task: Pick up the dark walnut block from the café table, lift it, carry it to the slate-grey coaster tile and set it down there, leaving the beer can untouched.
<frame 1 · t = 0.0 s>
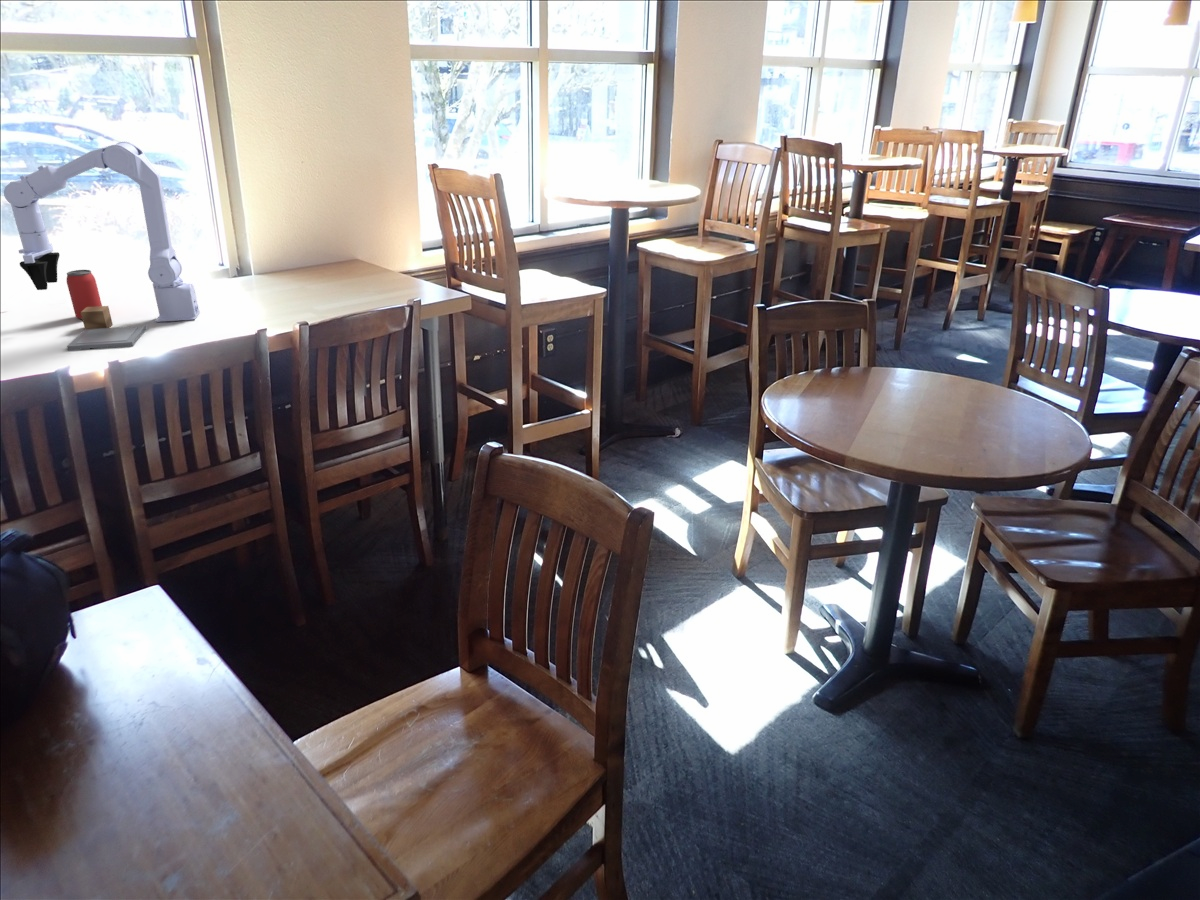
hand: (47, 285, 212), 10 cm above the table, fingers open, 7 cm apart
beer can: (90, 317, 223), on the table
coaster: (108, 339, 205), on the table
walnut block: (99, 328, 214), on the table
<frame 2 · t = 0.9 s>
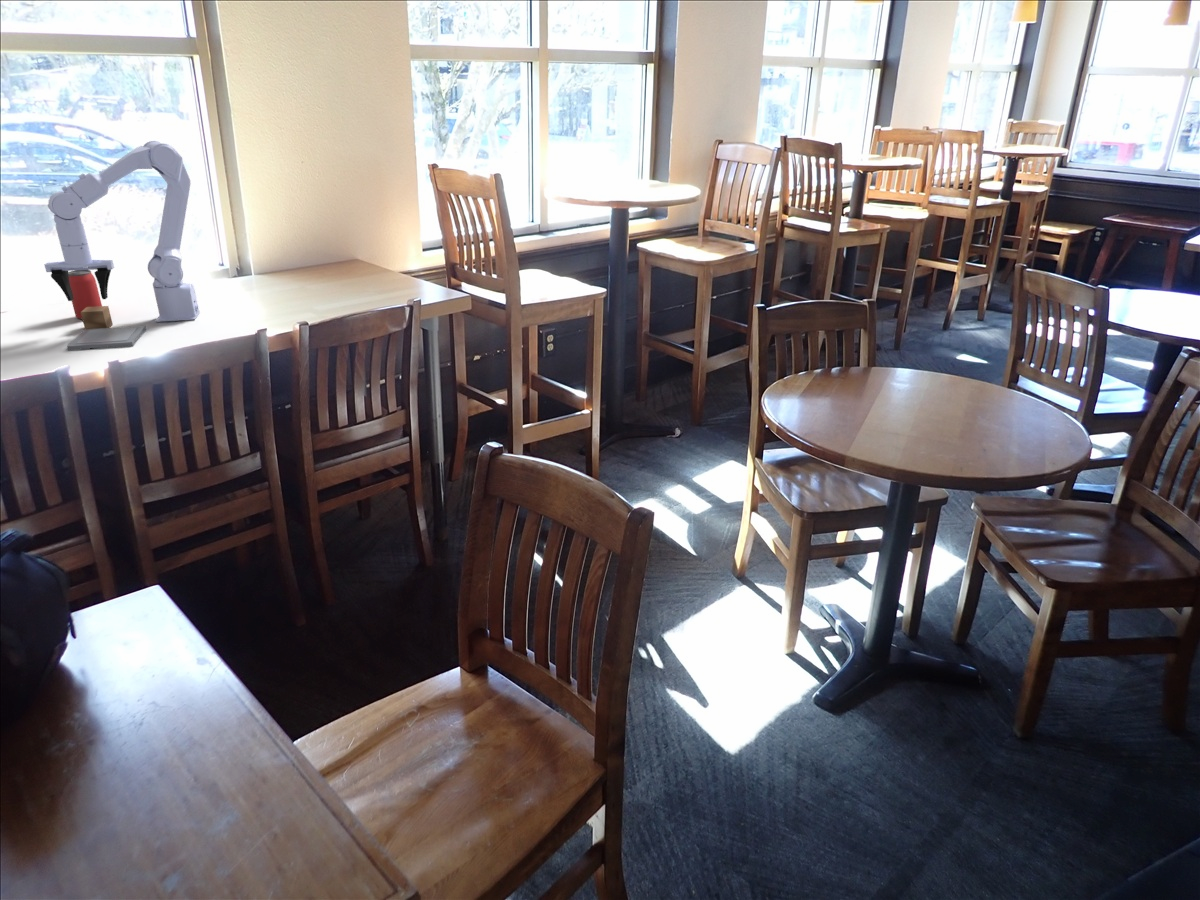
hand: (88, 299, 208), 8 cm above the table, fingers open, 7 cm apart
nothing on the table moved.
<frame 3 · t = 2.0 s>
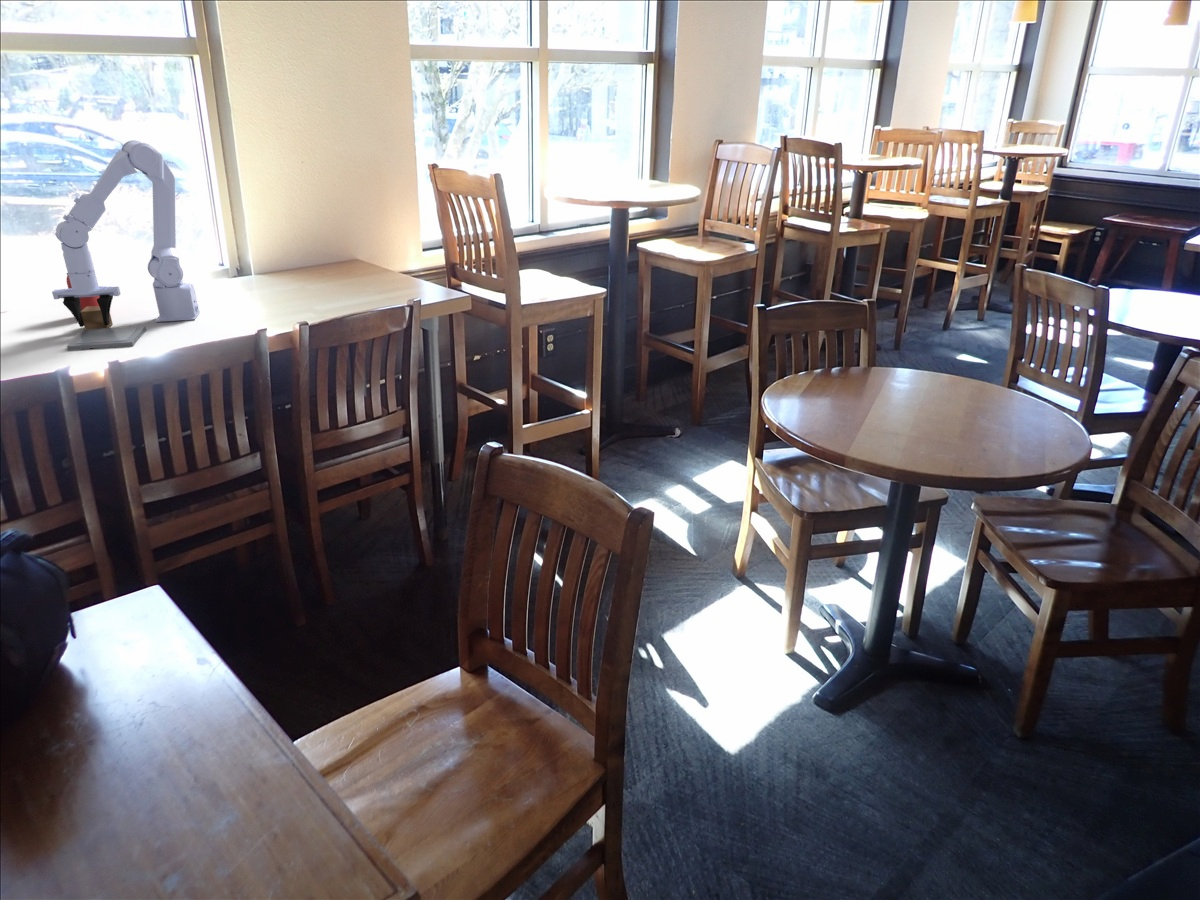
hand: (95, 325, 211), 1 cm above the table, fingers closed on walnut block, 5 cm apart
walnut block: (99, 327, 214), on the table, touching gripper
everything else where it was.
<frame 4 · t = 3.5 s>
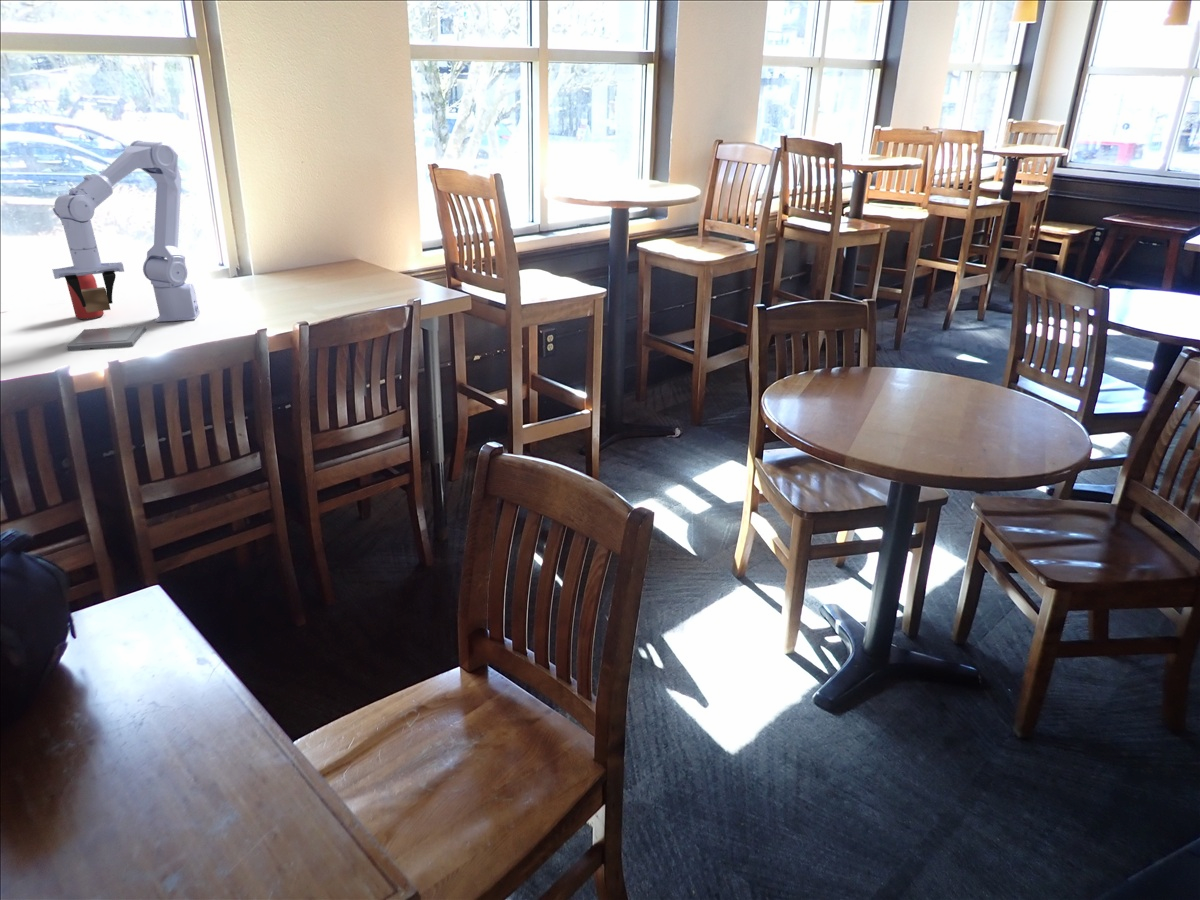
hand: (97, 304, 202), 8 cm above the table, fingers closed on walnut block, 5 cm apart
walnut block: (98, 309, 205), point 6 cm above the table, tilted 6°, touching gripper
everything else where it was.
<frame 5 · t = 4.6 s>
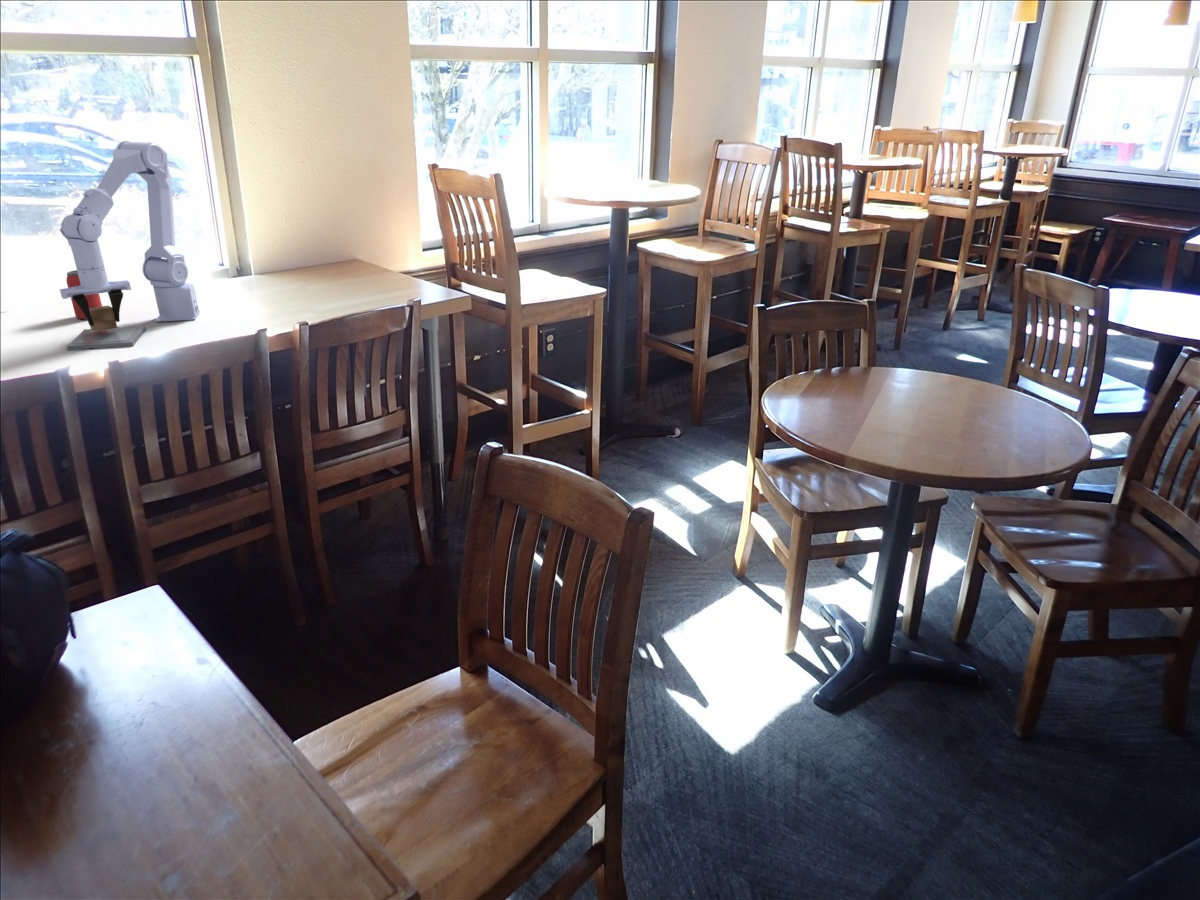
hand: (104, 322, 203), 4 cm above the table, fingers closed on walnut block, 5 cm apart
walnut block: (104, 328, 205), point 2 cm above the table, tilted 6°, touching gripper
everything else where it was.
when the fingers open (4 cm above the table, at t = 5.3 s): walnut block drops 1 cm, resting on coaster.
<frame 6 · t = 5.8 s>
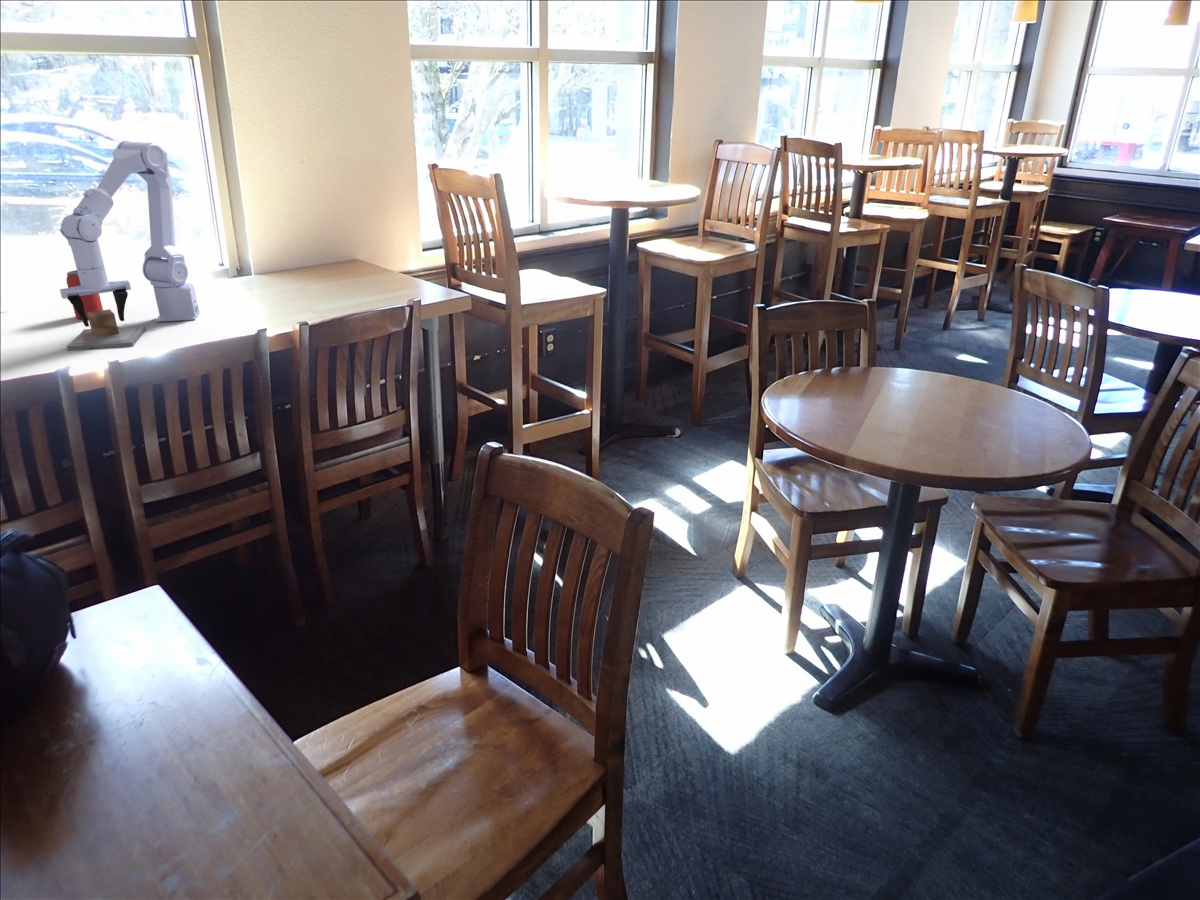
hand: (104, 322, 203), 4 cm above the table, fingers open, 7 cm apart
walnut block: (105, 333, 206), point 1 cm above the table, touching coaster
everything else where it was.
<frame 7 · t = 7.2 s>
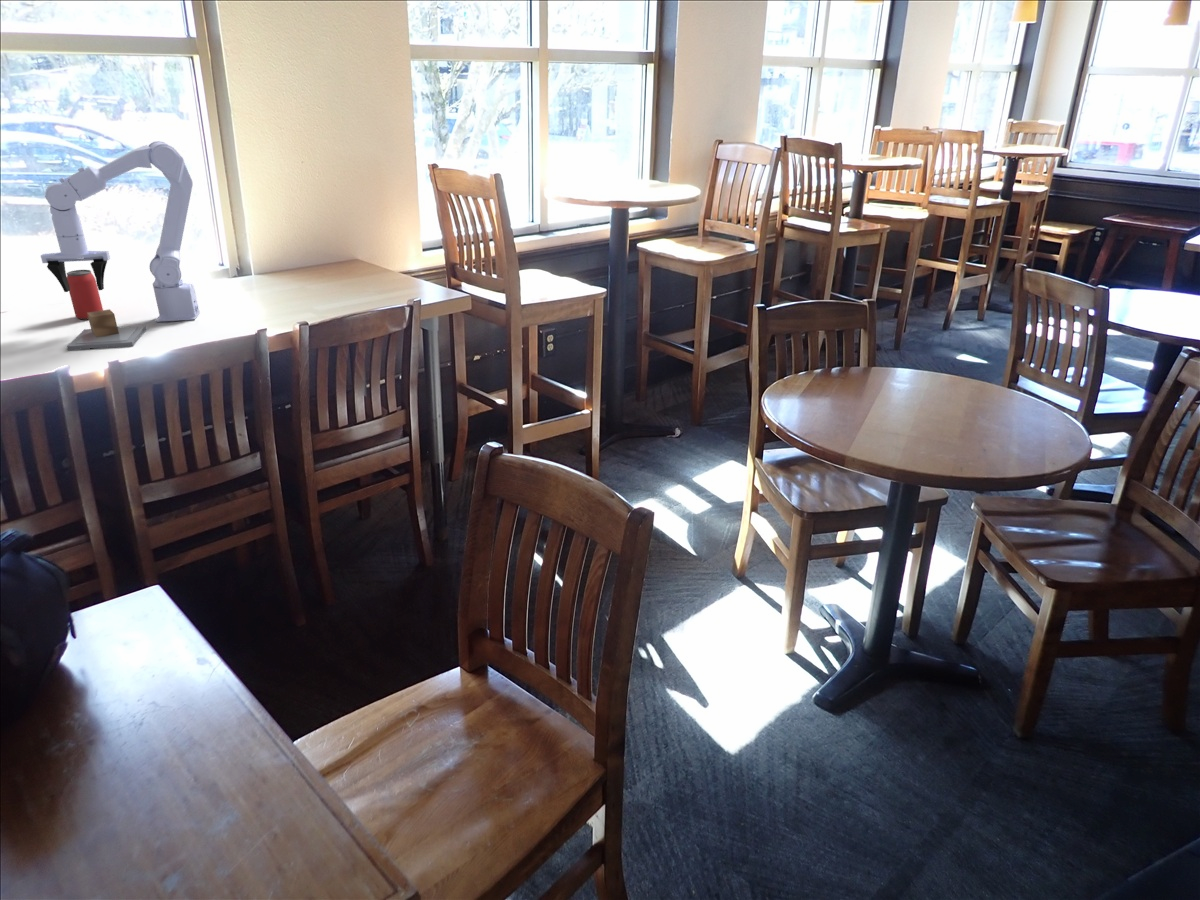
hand: (84, 290, 209), 10 cm above the table, fingers open, 7 cm apart
nothing on the table moved.
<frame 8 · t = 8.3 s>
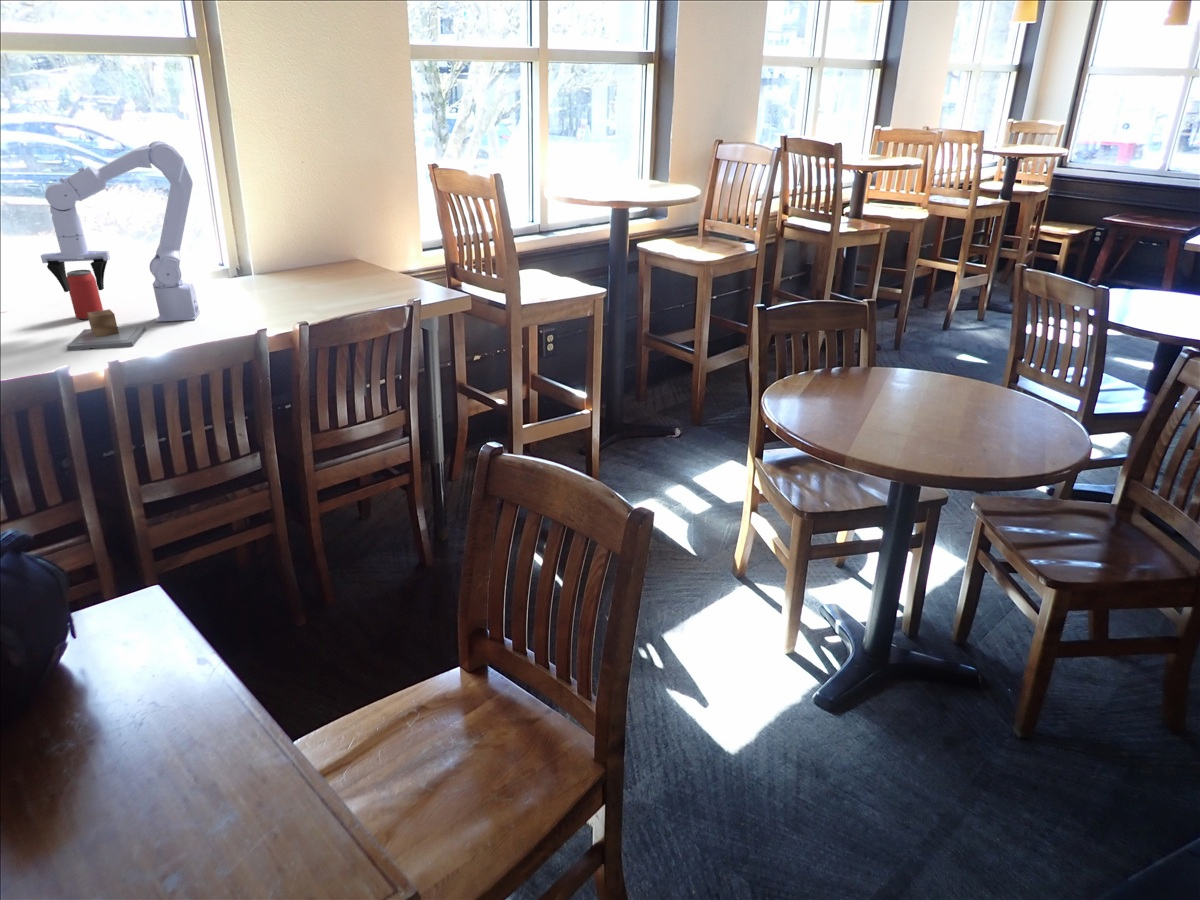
hand: (84, 290, 209), 10 cm above the table, fingers open, 7 cm apart
nothing on the table moved.
at the end: walnut block inside the target area on the coaster (2.3 cm from its centre), point 1.1 cm above the coaster's base; walnut block tilted 0°; the gripper is holding nothing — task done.
